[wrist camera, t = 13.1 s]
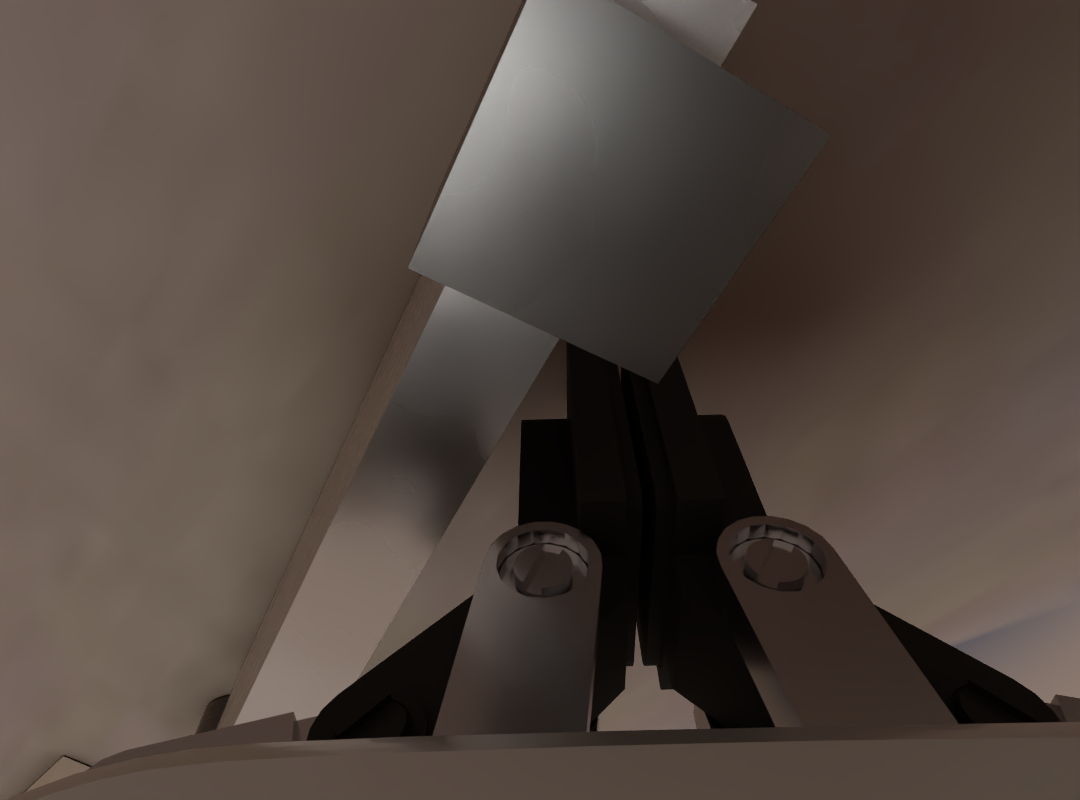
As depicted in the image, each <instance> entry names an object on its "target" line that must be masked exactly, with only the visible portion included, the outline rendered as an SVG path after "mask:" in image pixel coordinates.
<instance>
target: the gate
mask: <svg viewBox="0 0 1080 800" xmlns="http://www.w3.org/2000/svg"><path fill="white" fill-rule="evenodd" d="M756 6H757V4H756V3H754V2H753V1H751V0H523V1H522V3H521V5H520V7H519V10H518V12H517V14H516V16H515V19H514V21H513V23H512V25H511V28H510V30H509V32H508V34H507V37H506V39H505V41H504V44H503V46H502V48H501V50H500V53H499V55H498V57H497V59H496V62H495V64H494V66H493V68H492V71H491V73H490V75H489V77H488V80H487V82H486V84H485V86H484V89H483V91H482V93H481V96H480V98H479V100H478V102H477V105H476V107H475V109H474V111H473V114H472V116H471V118H470V120H469V123H468V125H467V127H466V129H465V132H464V134H463V136H462V139H461V141H460V143H459V145H458V148H457V150H456V152H455V154H454V157H453V159H452V161H451V163H450V166H449V168H448V170H447V172H446V175H445V177H444V179H443V181H442V184H441V186H440V188H439V191H438V193H437V195H436V197H435V200H434V202H433V205H432V207H431V210H430V212H429V215H428V218H427V220H426V223H425V225H424V228H423V230H422V233H421V236H420V238H419V241H418V243H417V246H416V248H415V251H414V254H413V256H412V259H411V261H410V264H409V266H408V268H409V269H411V270H413V271H415V272H417V273H419V274H421V276H420V278H419V280H418V283H417V285H416V287H415V289H414V291H413V294H412V296H411V298H410V300H409V302H408V304H407V307H406V309H405V311H404V313H403V315H402V318H401V320H400V322H399V324H398V326H397V329H396V331H395V333H394V335H393V337H392V339H391V342H390V344H389V346H388V348H387V350H386V353H385V355H384V357H383V359H382V361H381V363H380V366H379V368H378V370H377V372H376V374H375V377H374V379H373V381H372V383H371V385H370V388H369V390H368V392H367V394H366V396H365V398H364V401H363V403H362V405H361V407H360V409H359V412H358V414H357V416H356V418H355V420H354V423H353V425H352V427H351V429H350V431H349V433H348V436H347V438H346V440H345V442H344V444H343V447H342V449H341V451H340V453H339V455H338V457H337V460H336V462H335V464H334V466H333V468H332V471H331V473H330V475H329V477H328V479H327V482H326V484H325V486H324V488H323V490H322V492H321V495H320V497H319V499H318V501H317V503H316V506H315V508H314V510H313V512H312V514H311V516H310V519H309V521H308V523H307V525H306V527H305V530H304V532H303V534H302V536H301V538H300V541H299V543H298V545H297V547H296V549H295V551H294V554H293V556H292V558H291V560H290V562H289V565H288V567H287V569H286V571H285V573H284V576H283V578H282V580H281V582H280V584H279V586H278V589H277V591H276V593H275V595H274V597H273V600H272V602H271V604H270V606H269V608H268V610H267V613H266V615H265V617H264V619H263V621H262V624H261V626H260V628H259V630H258V632H257V635H256V637H255V639H254V641H253V643H252V645H251V648H250V650H249V652H248V654H247V656H246V659H245V661H244V663H243V665H242V667H241V670H240V672H239V674H238V677H237V679H236V682H235V684H234V687H233V689H232V692H231V694H230V697H229V699H228V702H227V704H226V707H225V709H224V711H223V714H222V716H221V719H220V721H219V724H218V726H217V729H221V728H225V727H229V726H234V725H238V724H242V723H247V722H251V721H255V720H260V719H264V718H268V717H273V716H277V715H281V714H286V713H290V712H294V714H295V717H296V720H302V719H306V718H310V717H315V716H318V715H319V713H320V711H321V710H322V709H323V708H324V707H325V706H326V705H327V704H328V703H329V702H330V701H331V700H332V699H333V698H335V697H336V696H337V695H338V694H339V693H340V692H342V691H343V690H345V689H346V688H347V687H349V686H350V685H351V684H353V683H354V682H355V681H356V680H357V679H358V677H359V675H360V674H361V672H362V670H363V669H364V667H365V665H366V664H367V662H368V660H369V658H370V657H371V655H372V653H373V652H374V650H375V648H376V647H377V645H378V643H379V642H380V640H381V638H382V637H383V635H384V633H385V632H386V630H387V628H388V626H389V625H390V623H391V621H392V620H393V618H394V616H395V615H396V613H397V611H398V610H399V608H400V606H401V605H402V603H403V601H404V599H405V598H406V596H407V594H408V593H409V591H410V589H411V588H412V586H413V584H414V583H415V581H416V579H417V578H418V576H419V574H420V573H421V571H422V569H423V567H424V566H425V564H426V562H427V561H428V559H429V557H430V556H431V554H432V552H433V551H434V549H435V547H436V546H437V544H438V542H439V540H440V539H441V537H442V535H443V534H444V532H445V530H446V529H447V527H448V525H449V524H450V522H451V520H452V519H453V517H454V515H455V514H456V512H457V510H458V508H459V507H460V505H461V503H462V502H463V500H464V498H465V497H466V495H467V493H468V492H469V490H470V488H471V487H472V485H473V483H474V481H475V480H476V478H477V476H478V475H479V473H480V471H481V470H482V468H483V466H484V465H485V463H486V461H487V460H488V458H489V456H490V455H491V453H492V451H493V449H494V448H495V446H496V444H497V443H498V441H499V439H500V438H501V436H502V434H503V433H504V431H505V429H506V428H507V426H508V424H509V423H510V421H511V419H512V417H513V416H514V414H515V412H516V411H517V409H518V407H519V406H520V404H521V402H522V401H523V399H524V397H525V396H526V394H527V392H528V390H529V389H530V387H531V385H532V384H533V382H534V380H535V379H536V377H537V375H538V374H539V372H540V370H541V369H542V367H543V365H544V364H545V362H546V360H547V358H548V357H549V355H550V353H551V352H552V350H553V348H554V347H555V345H556V343H557V342H558V340H559V338H560V339H562V340H564V341H566V342H569V343H571V344H573V345H575V346H577V347H579V348H582V349H584V350H586V351H588V352H590V353H592V354H594V355H597V356H599V357H601V358H603V359H605V360H607V361H610V362H612V363H614V364H616V365H618V366H620V367H623V368H625V369H627V370H629V371H631V372H633V373H636V374H638V375H640V376H642V377H644V378H646V379H649V380H651V381H653V382H655V383H657V384H658V383H659V382H660V380H661V379H662V377H663V376H664V375H665V373H666V372H667V370H668V369H669V367H670V366H671V365H672V363H673V362H674V360H675V359H676V357H677V356H678V355H679V353H680V352H681V350H682V349H683V347H684V346H685V345H686V343H687V342H688V340H689V339H690V337H691V336H692V335H693V333H694V332H695V330H696V329H697V327H698V326H699V325H700V323H701V322H702V320H703V319H704V317H705V316H706V315H707V313H708V312H709V310H710V309H711V307H712V306H713V305H714V303H715V302H716V300H717V299H718V297H719V296H720V295H721V293H722V292H723V290H724V289H725V287H726V286H727V284H728V283H729V282H730V280H731V279H732V277H733V276H734V274H735V273H736V272H737V270H738V269H739V267H740V266H741V264H742V263H743V262H744V260H745V259H746V257H747V256H748V254H749V253H750V252H751V250H752V249H753V247H754V246H755V244H756V243H757V242H758V240H759V239H760V237H761V236H762V234H763V233H764V232H765V230H766V229H767V227H768V226H769V224H770V223H771V222H772V220H773V219H774V217H775V216H776V214H777V213H778V212H779V210H780V209H781V207H782V206H783V204H784V203H785V202H786V200H787V199H788V197H789V196H790V194H791V193H792V192H793V190H794V189H795V187H796V186H797V184H798V183H799V181H800V180H801V179H802V177H803V176H804V174H805V173H806V171H807V170H808V169H809V167H810V166H811V164H812V163H813V161H814V160H815V159H816V157H817V156H818V154H819V153H820V151H821V150H822V149H823V147H824V146H825V144H826V143H827V141H828V140H829V139H830V137H831V136H832V135H831V134H830V133H828V132H826V131H825V130H823V129H821V128H820V127H818V126H817V125H815V124H813V123H812V122H810V121H808V120H807V119H805V118H803V117H802V116H800V115H799V114H797V113H795V112H794V111H792V110H790V109H789V108H787V107H785V106H784V105H782V104H781V103H779V102H777V101H776V100H774V99H772V98H771V97H769V96H767V95H766V94H764V93H763V92H761V91H759V90H758V89H756V88H754V87H753V86H751V85H749V84H748V83H746V82H745V81H743V80H741V79H740V78H738V77H736V76H735V75H733V74H732V73H730V72H728V71H727V70H725V69H723V68H722V67H721V65H722V63H723V62H724V60H725V58H726V57H727V55H728V53H729V52H730V50H731V48H732V47H733V45H734V43H735V42H736V40H737V38H738V37H739V35H740V33H741V31H742V30H743V28H744V26H745V25H746V23H747V21H748V20H749V18H750V16H751V15H752V13H753V11H754V10H755V8H756Z"/></svg>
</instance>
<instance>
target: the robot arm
mask: <svg viewBox="0 0 1080 800" xmlns="http://www.w3.org/2000/svg"><path fill="white" fill-rule="evenodd" d="M566 352H567V419H543V420H522V423H521V453H520V485H519V518H518V526H516V527H514V528H513V529H511V530H509V531H507V532H505V533H503V534H502V535H501V536H499V537H498V538H497V539H496V540H495V541H494V542H493V543H492V544H491V546H490V548H489V549H488V551H487V553H486V555H485V558H484V561H483V564H482V568H481V571H480V575H479V578H478V582H477V585H476V588H475V592H474V595H472V596H471V597H469V598H468V599H467V600H465V601H464V602H463V603H461V604H460V605H459V606H457V607H456V608H455V609H453V610H452V611H450V612H449V613H448V614H446V615H445V616H444V617H442V618H441V619H440V620H438V621H437V622H436V623H434V624H433V625H431V626H430V627H429V628H427V629H426V630H425V631H423V632H422V633H421V634H419V635H418V636H417V637H415V638H414V639H412V640H411V641H410V642H408V643H407V644H406V645H404V646H403V647H402V648H400V649H399V650H397V651H396V652H395V653H393V654H392V655H391V656H389V657H388V658H387V659H385V660H384V661H383V662H381V663H380V664H378V665H377V666H376V667H374V668H373V669H372V670H370V671H369V672H368V673H366V674H365V675H364V676H362V677H361V678H359V679H358V680H357V681H355V682H354V683H353V684H351V685H350V686H349V687H347V688H346V689H345V690H343V691H342V692H340V693H339V694H338V695H337V696H336V697H335V698H333V699H332V700H331V701H330V702H329V703H328V704H327V705H326V706H325V707H324V708H323V709H322V710H321V711H320V713H319V715H318V716H315V717H310V718H306V719H302V720H296V717H295V714H294V712H290V713H286V714H281V715H277V716H273V717H268V718H264V719H260V720H255V721H251V722H247V723H242V724H238V725H234V726H229V727H225V728H221V729H216V730H212V731H208V732H203V733H199V734H195V735H190V736H186V737H182V738H177V739H173V740H169V741H164V742H160V743H156V744H151V745H147V746H143V747H138V748H134V749H130V750H126V751H123V752H120V753H118V754H115V755H113V756H110V757H107V758H105V759H102V760H101V761H99V762H98V763H96V764H95V765H93V766H92V767H91V768H89V769H88V770H86V771H84V772H80V773H76V774H73V775H70V776H67V777H65V778H62V779H59V780H57V781H54V782H51V783H48V784H46V785H43V786H40V787H38V788H35V789H32V790H29V791H27V792H24V793H21V794H19V795H16V796H13V797H11V798H9V799H7V800H1080V698H1074V697H1068V696H1062V695H1055V696H1054V698H1053V700H1052V702H1051V703H1050V704H1049V703H1044V702H1043V701H1042V700H1041V699H1040V698H1039V697H1038V696H1037V695H1036V694H1035V693H1033V692H1032V691H1030V690H1029V689H1027V688H1026V687H1024V686H1023V685H1021V684H1020V683H1018V682H1017V681H1015V680H1014V679H1012V678H1010V677H1008V676H1006V675H1004V674H1003V673H1001V672H999V671H997V670H995V669H993V668H991V667H990V666H988V665H986V664H983V663H982V662H980V661H978V660H976V659H975V658H973V657H971V656H969V655H967V654H965V653H963V652H961V651H959V650H958V649H956V648H954V647H952V646H950V645H948V644H947V643H945V642H943V641H941V640H939V639H937V638H935V637H934V636H932V635H930V634H928V633H926V632H924V631H922V630H921V629H919V628H917V627H915V626H913V625H911V624H909V623H907V622H906V621H904V620H902V619H900V618H898V617H896V616H894V615H893V614H891V613H889V612H887V611H885V610H883V609H881V608H879V607H878V606H876V605H874V604H873V603H872V601H871V600H870V599H869V597H868V596H867V594H866V593H865V592H864V590H863V589H862V587H861V586H860V585H859V583H858V582H857V580H856V579H855V578H854V576H853V575H852V573H851V572H850V571H849V569H848V568H847V566H846V565H845V564H844V562H843V561H842V559H841V558H840V557H839V555H838V554H837V552H836V551H835V549H834V548H833V547H832V546H831V545H830V544H829V543H828V542H827V541H826V540H825V539H824V538H823V537H822V536H821V535H820V534H818V533H816V532H815V531H813V530H812V529H810V528H809V527H807V526H805V525H802V524H800V523H797V522H795V521H792V520H789V519H784V518H779V517H773V516H767V515H766V513H765V510H764V508H763V505H762V503H761V501H760V498H759V496H758V493H757V491H756V488H755V486H754V483H753V481H752V478H751V476H750V473H749V471H748V469H747V466H746V464H745V461H744V459H743V456H742V454H741V451H740V449H739V446H738V444H737V441H736V439H735V437H734V434H733V432H732V429H731V427H730V424H729V422H728V420H727V418H726V416H724V415H697V412H696V409H695V406H694V403H693V400H692V397H691V394H690V392H689V389H688V386H687V383H686V380H685V377H684V374H683V371H682V368H681V366H680V363H679V360H678V357H676V359H675V360H674V362H673V363H672V365H671V366H670V367H669V369H668V370H667V372H666V373H665V375H664V376H663V377H662V379H661V380H660V382H659V383H658V384H657V383H655V382H653V381H651V380H649V379H646V378H644V377H642V376H640V375H638V374H636V373H633V372H631V371H629V370H627V369H625V368H623V367H621V382H620V377H619V372H618V367H617V365H616V364H614V363H612V362H610V361H607V360H605V359H603V358H601V357H599V356H597V355H594V354H592V353H590V352H588V351H586V350H584V349H582V348H579V347H577V346H575V345H573V344H571V343H569V342H567V346H566ZM636 622H637V629H638V635H639V642H640V649H641V655H642V661H643V665H644V666H651V665H657V671H658V677H659V682H660V688H661V690H665V689H674V690H675V691H677V692H678V693H679V694H681V695H682V696H683V697H685V698H686V699H688V700H689V701H690V702H692V703H693V704H694V711H693V713H694V718H695V723H696V727H697V729H683V730H639V731H598V730H599V714H600V713H601V712H602V711H603V710H604V709H605V708H606V707H607V706H608V705H609V704H610V703H611V702H612V701H613V700H614V699H615V698H616V697H617V696H618V695H619V694H620V693H621V692H622V691H623V690H624V689H625V674H626V666H633V663H634V650H635V634H636Z"/></svg>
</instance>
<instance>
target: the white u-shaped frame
mask: <svg viewBox="0 0 1080 800" xmlns="http://www.w3.org/2000/svg"><path fill="white" fill-rule="evenodd" d="M89 768H90V767H88V766H86V765H83V764H81V763H79V762H76V761H74V760H71V759H69V758H67V757H64V756H63V757H62V758H61V759H60V760H59V761H57V762H56V763H55V764H54V765H53V766H52V767H51V768H50V769H49V770H48V771H47V772H46V773H45V774H44V775H43V776H41V777H40V778H39V779H38V780H37V781H36V782H35V783H34V784H33V785H32V786H31V787H30V788H29V789H28V790H27V791H29V790H32V789H35V788H38V787H40V786H43V785H46V784H48V783H51V782H54V781H57V780H59V779H62V778H65V777H67V776H70V775H73V774H76V773H80V772H84V771H86V770H88V769H89ZM27 791H25V792H27Z"/></svg>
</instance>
